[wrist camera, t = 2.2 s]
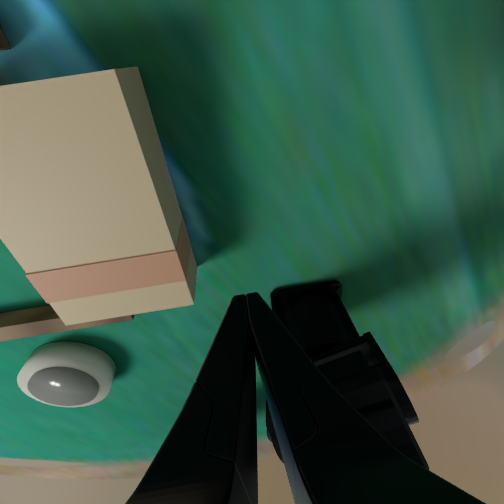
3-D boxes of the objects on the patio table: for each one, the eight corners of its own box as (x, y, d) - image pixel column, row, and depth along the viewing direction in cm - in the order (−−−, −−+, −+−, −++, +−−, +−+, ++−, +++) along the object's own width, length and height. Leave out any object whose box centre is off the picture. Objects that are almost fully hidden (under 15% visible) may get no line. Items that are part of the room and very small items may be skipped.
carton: (139, 66, 16) (114, 68, 12) (197, 265, 24) (194, 305, 20) (-28, 90, 15) (-107, 101, 12) (88, 283, 23) (64, 326, 20)
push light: (96, 335, 27) (86, 357, 25) (127, 381, 31) (121, 403, 29) (11, 349, 26) (-6, 372, 25) (55, 393, 31) (44, 416, 29)
